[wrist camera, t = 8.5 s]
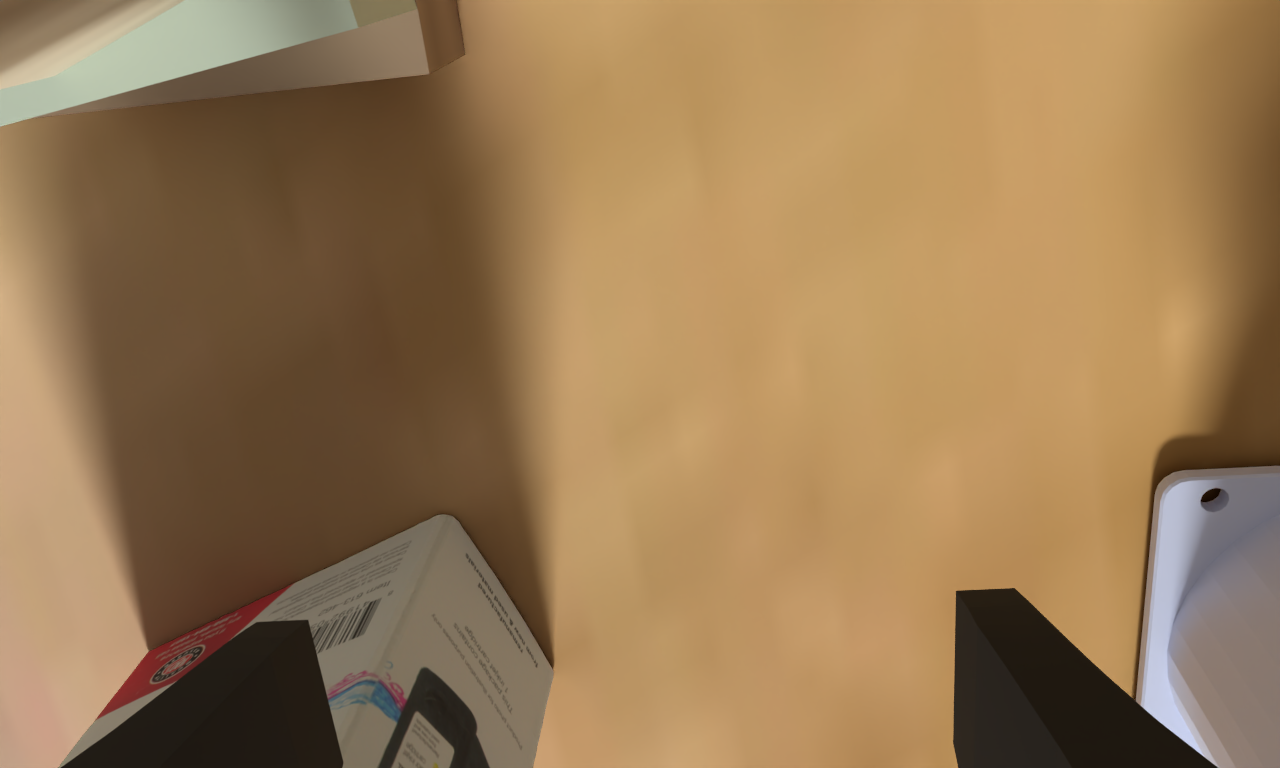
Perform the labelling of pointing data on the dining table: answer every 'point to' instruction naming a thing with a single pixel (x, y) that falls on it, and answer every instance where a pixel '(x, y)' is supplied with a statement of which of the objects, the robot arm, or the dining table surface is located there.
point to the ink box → (392, 656)
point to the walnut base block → (317, 61)
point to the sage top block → (192, 47)
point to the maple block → (63, 33)
